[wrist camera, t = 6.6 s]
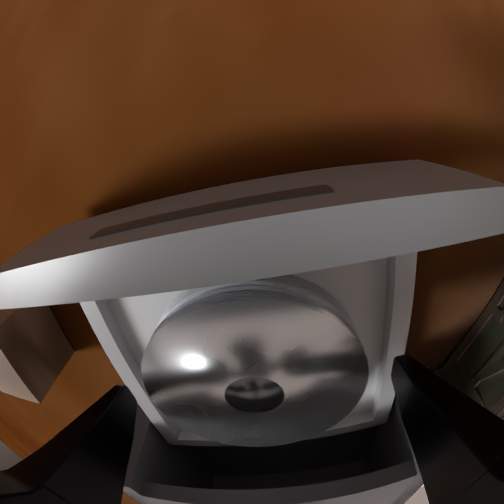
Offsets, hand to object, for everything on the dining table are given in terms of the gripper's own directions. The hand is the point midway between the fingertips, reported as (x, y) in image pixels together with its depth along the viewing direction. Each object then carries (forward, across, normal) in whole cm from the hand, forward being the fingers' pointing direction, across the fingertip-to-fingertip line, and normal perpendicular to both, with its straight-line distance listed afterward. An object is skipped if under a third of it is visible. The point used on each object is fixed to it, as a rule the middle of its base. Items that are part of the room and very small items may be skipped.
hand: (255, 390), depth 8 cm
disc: (+1, 0, 0) cm, 1 cm away
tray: (+2, 0, 0) cm, 2 cm away
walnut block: (+3, +12, -1) cm, 12 cm away
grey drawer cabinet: (+3, 0, +9) cm, 9 cm away
